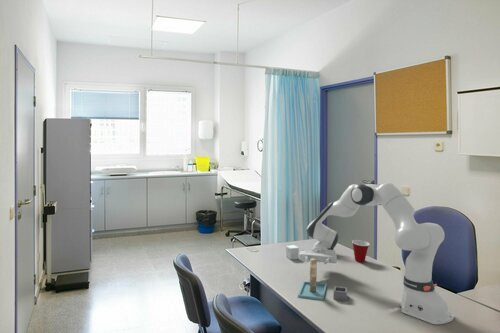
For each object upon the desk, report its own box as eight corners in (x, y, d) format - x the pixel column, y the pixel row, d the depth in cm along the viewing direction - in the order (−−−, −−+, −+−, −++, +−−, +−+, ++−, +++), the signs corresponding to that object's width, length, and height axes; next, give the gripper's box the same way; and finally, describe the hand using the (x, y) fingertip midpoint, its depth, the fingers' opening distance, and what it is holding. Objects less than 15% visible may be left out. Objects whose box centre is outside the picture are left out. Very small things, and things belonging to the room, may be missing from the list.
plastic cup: (370, 264, 235) (370, 245, 233) (351, 263, 237) (352, 243, 236) (368, 258, 245) (369, 240, 244) (350, 257, 247) (351, 239, 246)
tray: (303, 284, 202) (303, 281, 202) (326, 287, 199) (326, 283, 199) (297, 299, 185) (297, 295, 185) (323, 302, 182) (323, 298, 181)
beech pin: (317, 291, 191) (318, 260, 190) (312, 293, 190) (313, 261, 188) (313, 289, 194) (313, 258, 193) (308, 290, 192) (308, 259, 191)
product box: (298, 258, 244) (299, 247, 243) (290, 259, 242) (290, 248, 241) (294, 255, 250) (294, 244, 249) (285, 256, 247) (286, 245, 247)
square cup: (346, 297, 187) (347, 287, 187) (346, 302, 181) (346, 292, 181) (334, 296, 189) (334, 286, 188) (333, 301, 183) (333, 290, 183)
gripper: (300, 246, 218) (296, 253, 205) (337, 249, 212) (336, 257, 199) (300, 257, 219) (296, 265, 205) (337, 260, 213) (336, 269, 200)
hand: (316, 261), depth 202 cm, fingers open, 8 cm apart
